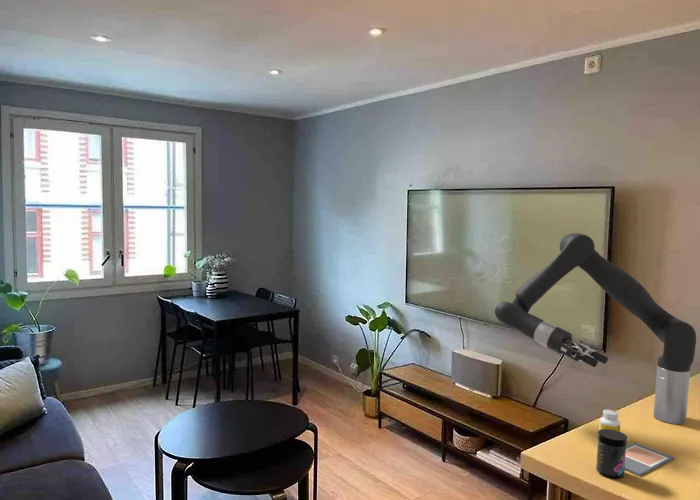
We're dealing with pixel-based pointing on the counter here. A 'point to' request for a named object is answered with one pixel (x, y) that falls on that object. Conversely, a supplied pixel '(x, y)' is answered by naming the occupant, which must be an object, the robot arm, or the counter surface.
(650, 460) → the picture board
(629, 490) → the counter surface
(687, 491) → the counter surface
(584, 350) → the robot arm
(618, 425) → the supplement bottle
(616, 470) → the supplement container
